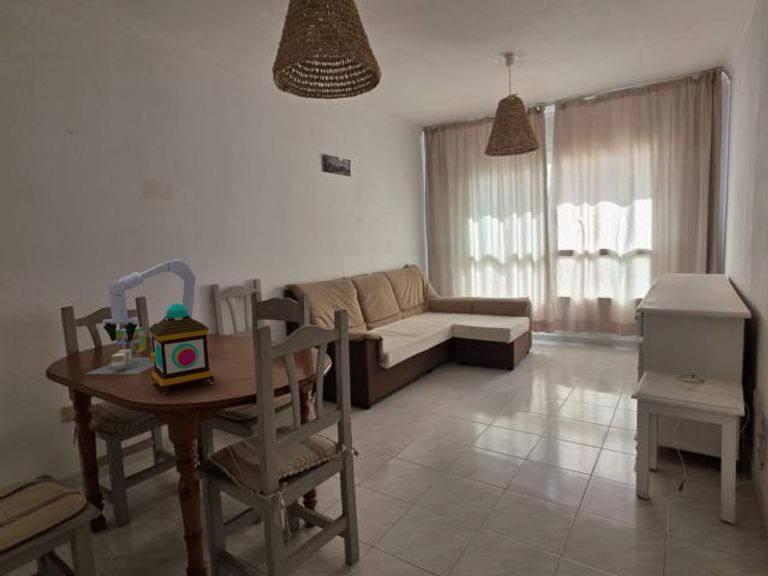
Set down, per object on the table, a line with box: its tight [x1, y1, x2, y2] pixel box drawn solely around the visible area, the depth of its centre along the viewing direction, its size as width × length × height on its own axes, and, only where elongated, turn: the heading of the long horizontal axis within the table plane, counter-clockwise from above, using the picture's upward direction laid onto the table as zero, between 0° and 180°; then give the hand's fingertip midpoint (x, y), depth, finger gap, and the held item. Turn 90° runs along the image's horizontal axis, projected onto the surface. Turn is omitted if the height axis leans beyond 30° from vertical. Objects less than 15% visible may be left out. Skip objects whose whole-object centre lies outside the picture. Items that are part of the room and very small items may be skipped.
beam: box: [111, 349, 134, 366], centre depth 184 cm, size 12×4×4 cm, turn 13°
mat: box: [85, 356, 155, 375], centre depth 190 cm, size 22×24×1 cm
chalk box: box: [115, 322, 148, 355], centre depth 213 cm, size 9×9×15 cm
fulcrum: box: [109, 361, 138, 370], centre depth 185 cm, size 10×4×3 cm, turn 85°
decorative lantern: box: [147, 302, 215, 395], centre depth 162 cm, size 20×20×30 cm
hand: (122, 340), depth 192 cm, fingers open, 7 cm apart
